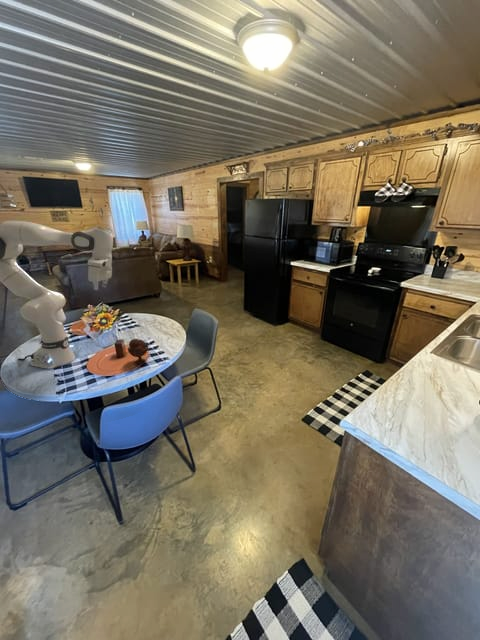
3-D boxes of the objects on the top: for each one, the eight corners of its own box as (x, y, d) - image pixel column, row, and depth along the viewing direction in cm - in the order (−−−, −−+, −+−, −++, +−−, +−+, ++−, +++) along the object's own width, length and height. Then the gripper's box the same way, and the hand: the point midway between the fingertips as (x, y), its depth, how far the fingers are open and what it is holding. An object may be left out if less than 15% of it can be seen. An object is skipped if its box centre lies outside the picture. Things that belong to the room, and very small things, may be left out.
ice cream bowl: (144, 368, 145) (140, 344, 139) (126, 365, 147) (121, 342, 141) (154, 358, 155) (150, 335, 149) (136, 356, 157) (132, 333, 151)
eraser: (117, 357, 156) (114, 344, 152) (119, 352, 161) (116, 339, 157) (124, 356, 156) (121, 343, 153) (126, 352, 161) (123, 339, 158)
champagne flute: (57, 337, 181) (47, 304, 171) (67, 333, 186) (58, 301, 177) (62, 339, 178) (52, 305, 168) (72, 335, 183) (63, 302, 174)
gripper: (103, 259, 141) (102, 284, 145) (85, 261, 122) (84, 290, 125) (115, 261, 142) (114, 286, 146) (100, 263, 123) (98, 292, 126)
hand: (100, 288), depth 135 cm, fingers open, 8 cm apart
